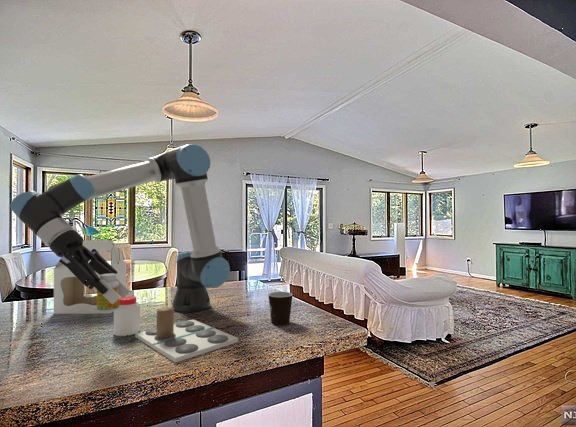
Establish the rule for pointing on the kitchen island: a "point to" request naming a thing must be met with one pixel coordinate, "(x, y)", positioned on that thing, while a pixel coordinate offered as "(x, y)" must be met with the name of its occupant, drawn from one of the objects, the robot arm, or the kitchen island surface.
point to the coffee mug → (280, 307)
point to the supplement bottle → (102, 302)
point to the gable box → (72, 288)
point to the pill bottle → (127, 317)
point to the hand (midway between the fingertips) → (121, 297)
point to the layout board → (183, 337)
